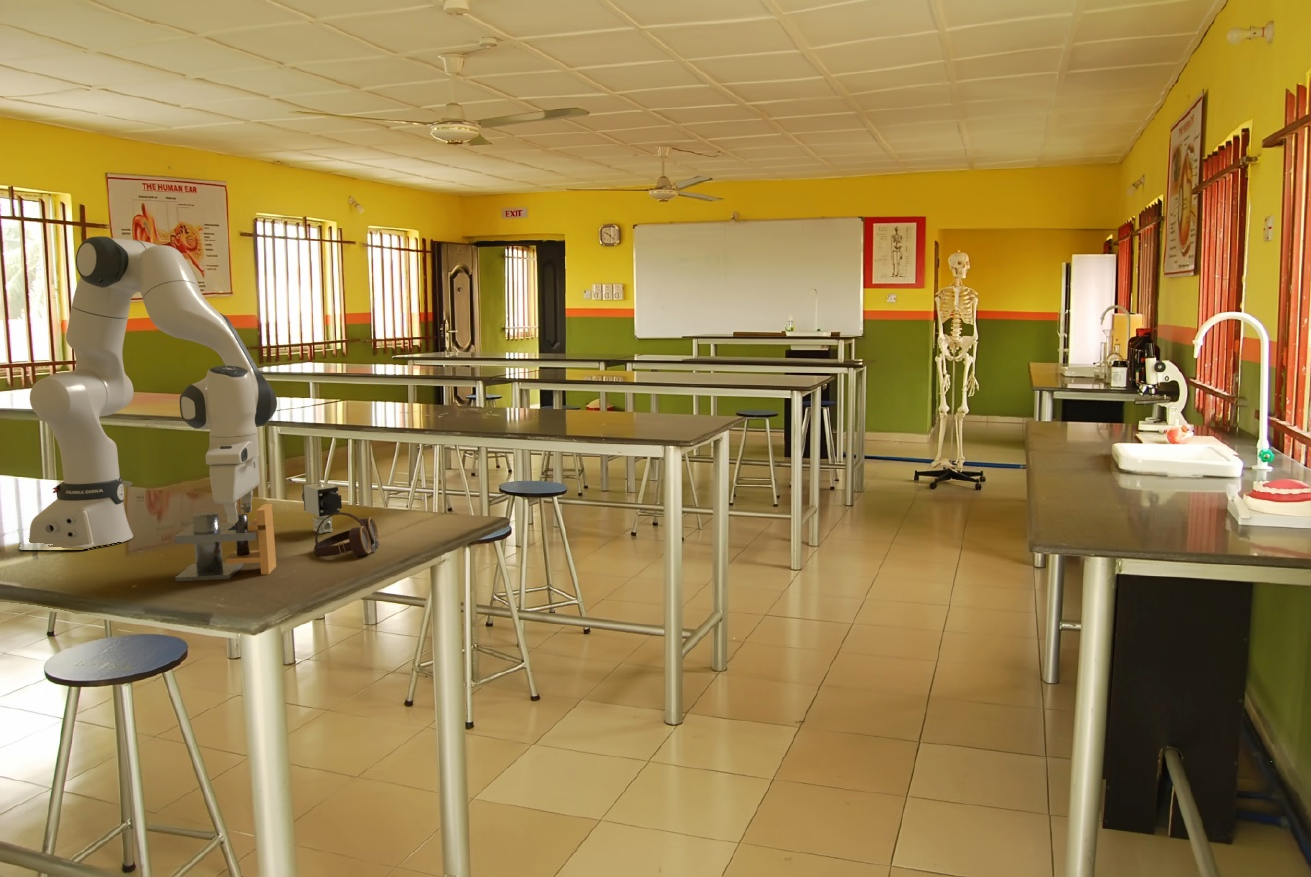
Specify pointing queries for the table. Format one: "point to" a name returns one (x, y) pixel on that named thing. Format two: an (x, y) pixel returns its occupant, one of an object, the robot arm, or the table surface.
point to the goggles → (358, 539)
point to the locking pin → (242, 545)
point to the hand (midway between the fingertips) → (240, 517)
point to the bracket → (260, 542)
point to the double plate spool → (210, 547)
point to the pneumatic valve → (321, 504)
